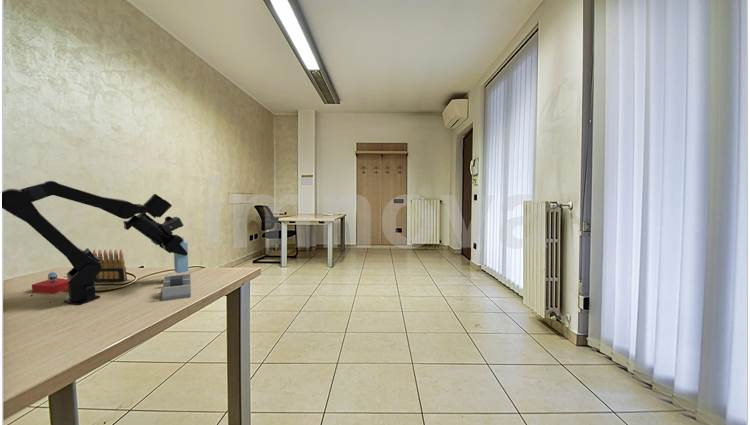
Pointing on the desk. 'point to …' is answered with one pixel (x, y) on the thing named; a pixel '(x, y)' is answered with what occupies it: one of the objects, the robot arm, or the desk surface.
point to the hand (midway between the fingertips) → (184, 253)
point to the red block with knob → (51, 284)
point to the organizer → (176, 287)
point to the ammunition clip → (111, 267)
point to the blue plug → (181, 259)
